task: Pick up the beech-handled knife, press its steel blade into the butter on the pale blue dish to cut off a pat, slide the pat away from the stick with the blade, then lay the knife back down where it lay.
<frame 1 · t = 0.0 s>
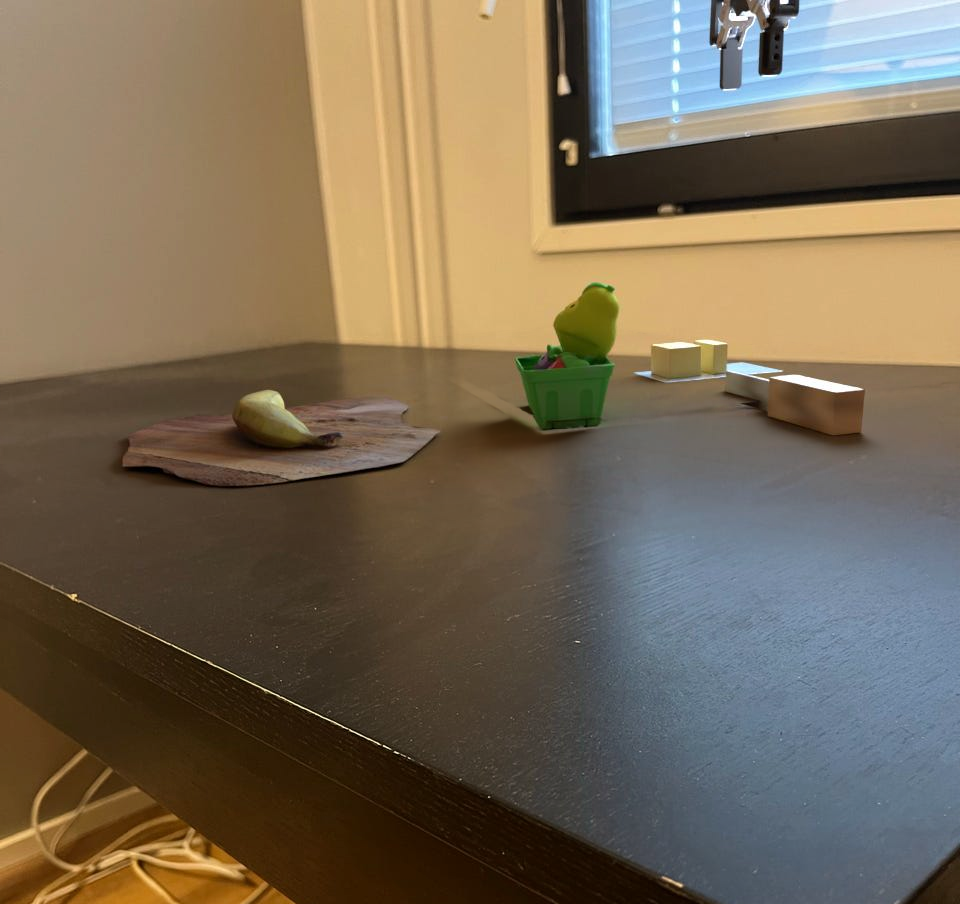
hand: (749, 82, 101), 28 cm above the table, tool pointing down, fingers open, 8 cm apart
fruit basket: (570, 421, 87), on the table
knife: (811, 423, 78), on the table
butter pat: (709, 371, 104), point 1 cm above the table, touching butter dish
butter dish: (706, 379, 105), on the table
cutting board: (284, 442, 86), on the table
butter stick: (675, 374, 104), point 1 cm above the table, touching butter dish
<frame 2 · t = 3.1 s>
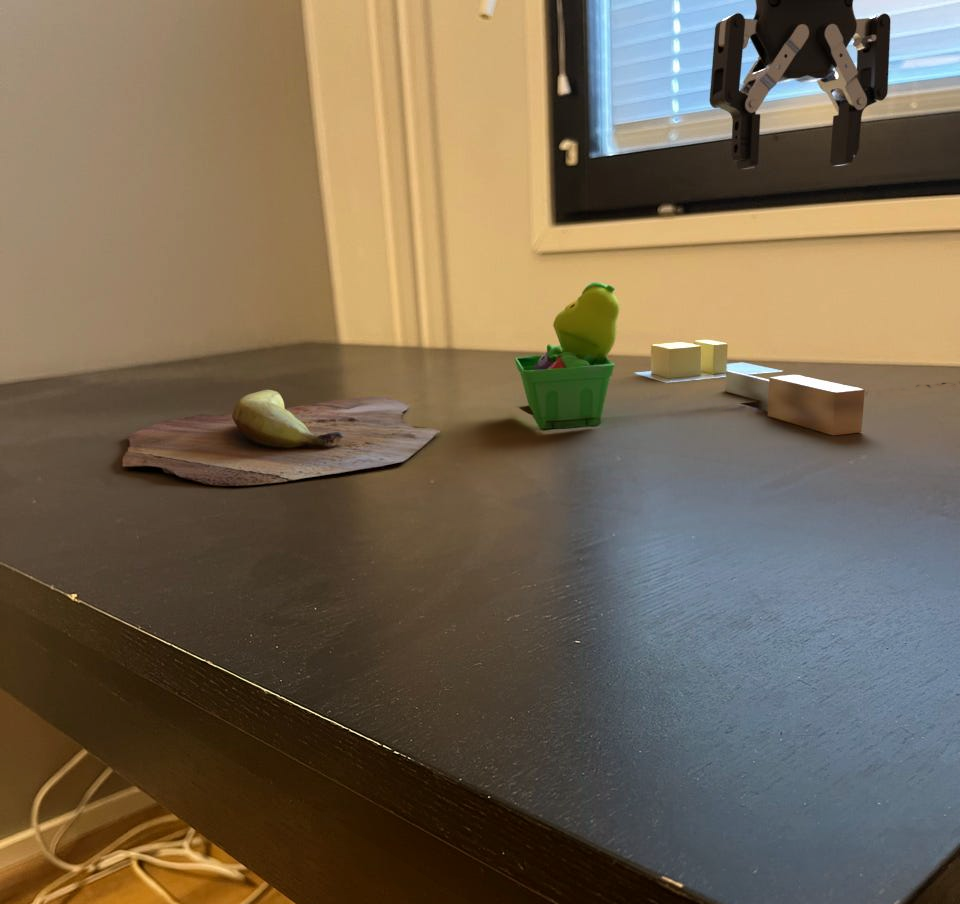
hand: (794, 166, 79), 19 cm above the table, tool pointing down, fingers open, 8 cm apart
nothing on the table moved.
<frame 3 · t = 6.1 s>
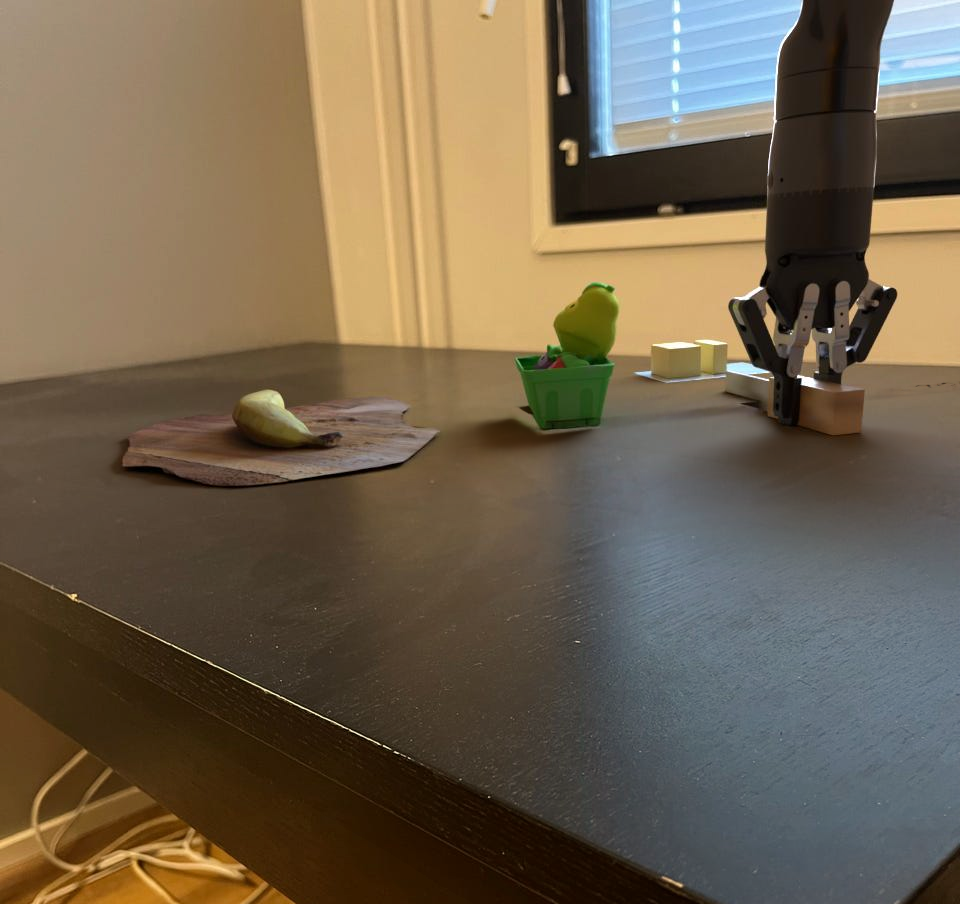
hand: (805, 420, 79), 0 cm above the table, tool pointing down, fingers closed on knife, 2 cm apart
knife: (811, 423, 78), on the table, touching gripper
everything else where it was.
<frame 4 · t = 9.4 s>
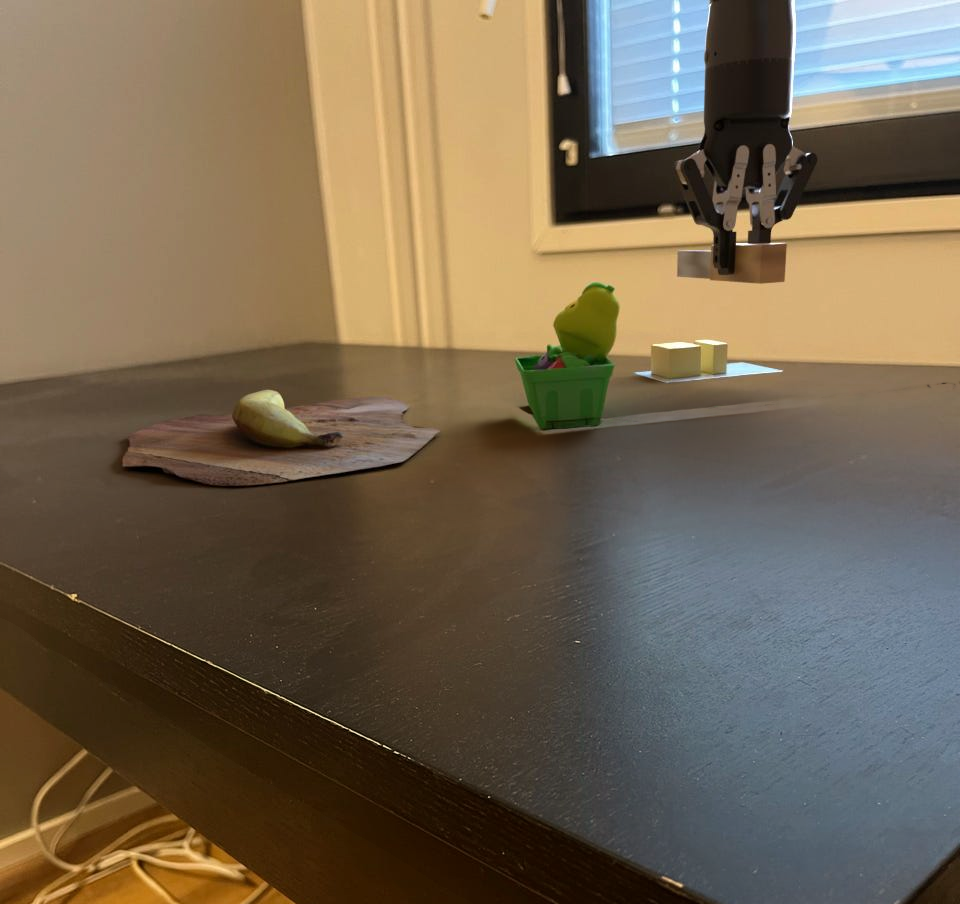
hand: (741, 272, 92), 11 cm above the table, tool pointing down, fingers closed on knife, 2 cm apart
knife: (745, 281, 91), point 10 cm above the table, touching gripper
everything else where it was.
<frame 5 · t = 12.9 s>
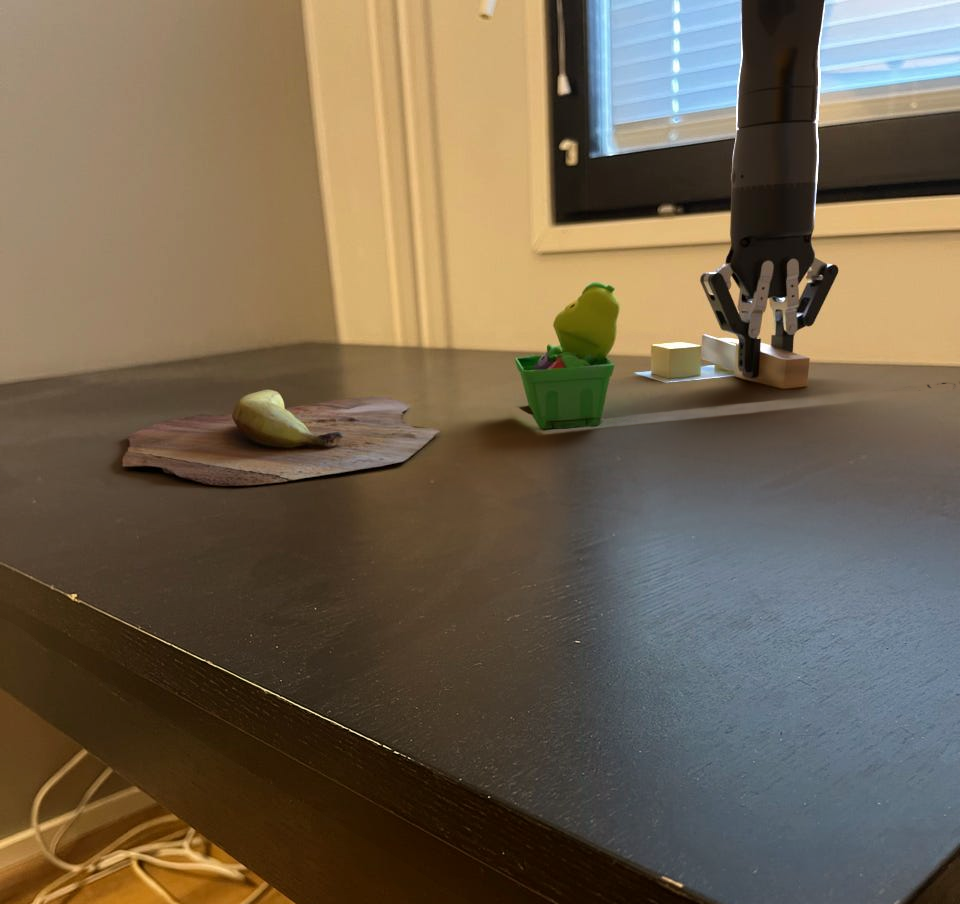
hand: (764, 374, 96), 1 cm above the table, tool pointing down, fingers closed on knife, 2 cm apart
knife: (768, 383, 96), on the table, touching butter pat, gripper
butter pat: (730, 369, 105), point 1 cm above the table, touching butter dish, knife
everything else where it was.
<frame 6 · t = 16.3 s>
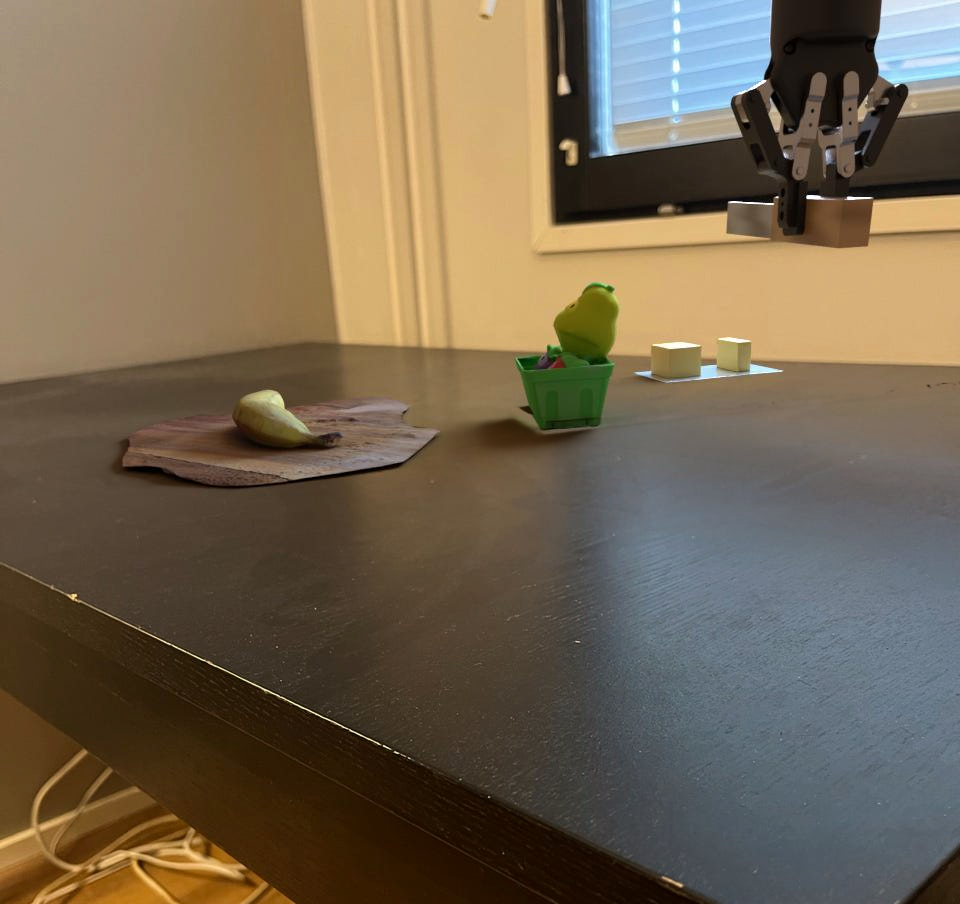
hand: (811, 233, 76), 14 cm above the table, tool pointing down, fingers closed on knife, 2 cm apart
knife: (816, 243, 75), point 13 cm above the table, touching gripper
butter pat: (733, 368, 105), point 1 cm above the table, touching butter dish
everything else where it was.
when the fingers open (1 cm above the table, at t = 19.4 s): knife stays where it is, on the table.
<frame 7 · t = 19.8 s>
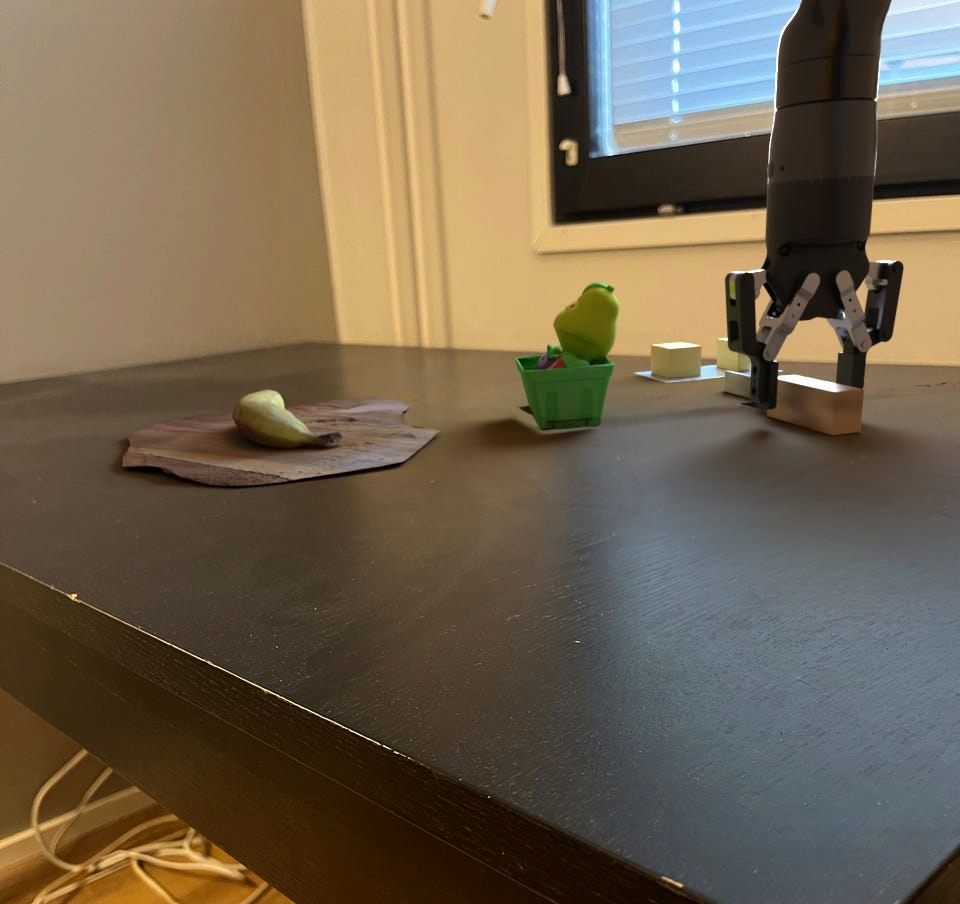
hand: (806, 403, 79), 1 cm above the table, tool pointing down, fingers open, 6 cm apart
knife: (811, 423, 79), on the table
everything else where it was.
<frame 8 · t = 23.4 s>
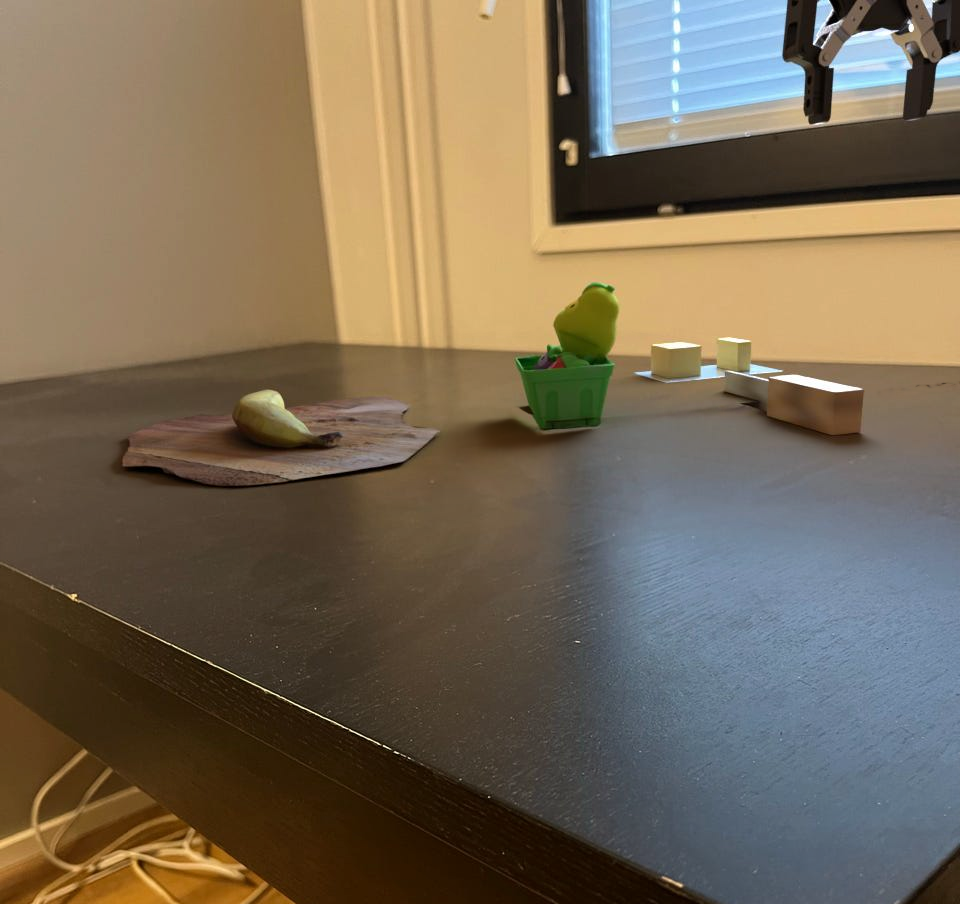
hand: (867, 121, 79), 22 cm above the table, tool pointing down, fingers open, 8 cm apart
nothing on the table moved.
at the end: butter pat moved 2.7 cm from its start; butter stick moved 0.0 cm from its start; knife inside the target area (0.1 cm from its centre), on the table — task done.
